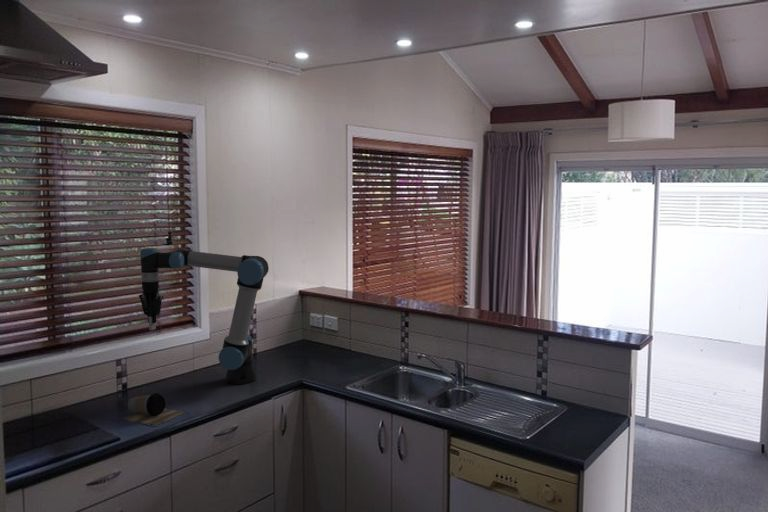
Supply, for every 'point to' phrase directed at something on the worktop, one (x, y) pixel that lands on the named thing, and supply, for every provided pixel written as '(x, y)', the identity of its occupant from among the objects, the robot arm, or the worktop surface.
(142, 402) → the coffee cup
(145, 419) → the brown striped mat
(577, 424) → the worktop surface
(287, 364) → the worktop surface
